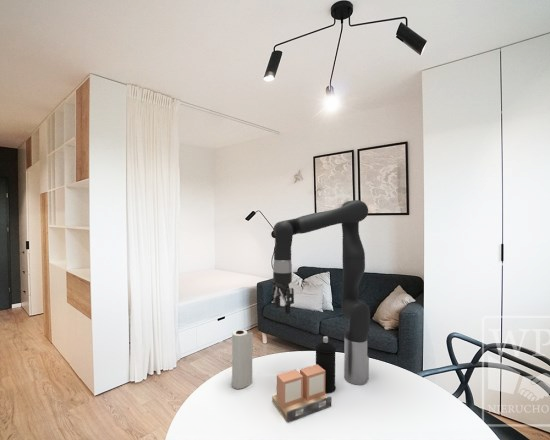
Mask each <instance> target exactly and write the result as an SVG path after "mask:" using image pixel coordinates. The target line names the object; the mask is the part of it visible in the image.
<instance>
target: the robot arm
mask: <svg viewBox="0 0 550 440" xmlns="http://www.w3.org/2000/svg"><path fill="white" fill-rule="evenodd" d="M368 214H369V207H368V205H367V204H366V203H365V202H364V201H362V200H359V199H358V200H356V199H354V200H349V201H345V202H344V203H343V204H342V205H341V207H340V206H339V207H337V208H334V209H330V210H326V211H320V212H314V213H309V214H306V215H302V216H298V217H295V218H291V219H286V220H281V221H278V222H276V223H275V224H274V225H273V229H272V232H273V234H274V236H275V244H274V245H275V246H274V249H273V264H272V265H273V266H272V272H273V274H272V278H273V279H272V283H271V284H272V285H271V296H272V297H273V299H274V308H275V309H277V308H278V309H279V308H281V300H283V302H284V314H285V315H289V314H291V305H293V304H294V303H295V296H294V295H295V293H294V291H295V290H294V288H293V287H291V288H290V284H291V283H292V280H293V274H292V273H293V270H292V269H293V264H292V243H293V238H294V237H293V236H294V235H299V234H307V233H311V232H314V231H318V230H321V229H323V228H327V227H331V226H335V225H339V224H341V229H342V230H341V231H342V253H341V254H342V258H341V259H342V296H341V312H342V315H343V316H344V317H345V318H346V319H347V320H349V327H347V328H345V330H344V341H343V342H344V346H343V347H344V349H343V350H344V354H343V355H344V358H343V359H344V362H343V364H344V369H343V370H344V373H343V377H344V379H345V381H346V382H348V383H350V384H351V385H357V386H362V385H365V384H366V383H367V382H368V380H369V379H370V377H369V376H370V357H369V356H368V336H369V333H370V327H371V326H370V324H371V311H370V307H369V305H368V304H367V303H365V302H364V301H362V300H360V299H359V298H360V297H359V286H360V282H361V280H362V277H363V275H364V273H365V270H366V258H365V257H366V254H365V253H366V252H365V249H364V247H363V246H364V245H363V243H362V240H361V236H360V232H359V229H360V228H359V227H360V225H359V223H360V222H362V221H363V220H365V219H366V218H367V217H368Z"/></svg>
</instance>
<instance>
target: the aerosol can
mask: <svg viewBox="0 0 550 440" xmlns="http://www.w3.org/2000/svg"><path fill="white" fill-rule="evenodd" d="M336 350H337V347H336V346H335V345H334V344H333V343H332V342H330V341H329V336H325V335H324V336H322V341H319V342H318V343H317V344H316V345H315V365H317V364H318V365H319V366H320V367H321V368H323V369H324V370H325V394H331V393H334V392H335V391H336V389H337V387H336Z"/></svg>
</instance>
